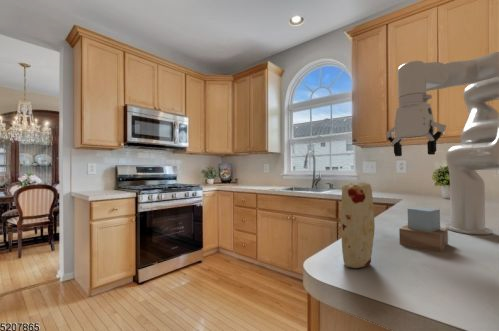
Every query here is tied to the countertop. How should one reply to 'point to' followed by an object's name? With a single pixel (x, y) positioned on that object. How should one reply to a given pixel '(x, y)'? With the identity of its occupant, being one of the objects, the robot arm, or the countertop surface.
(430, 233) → the walnut block
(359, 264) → the food model
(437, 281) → the countertop surface
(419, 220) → the slate cube
